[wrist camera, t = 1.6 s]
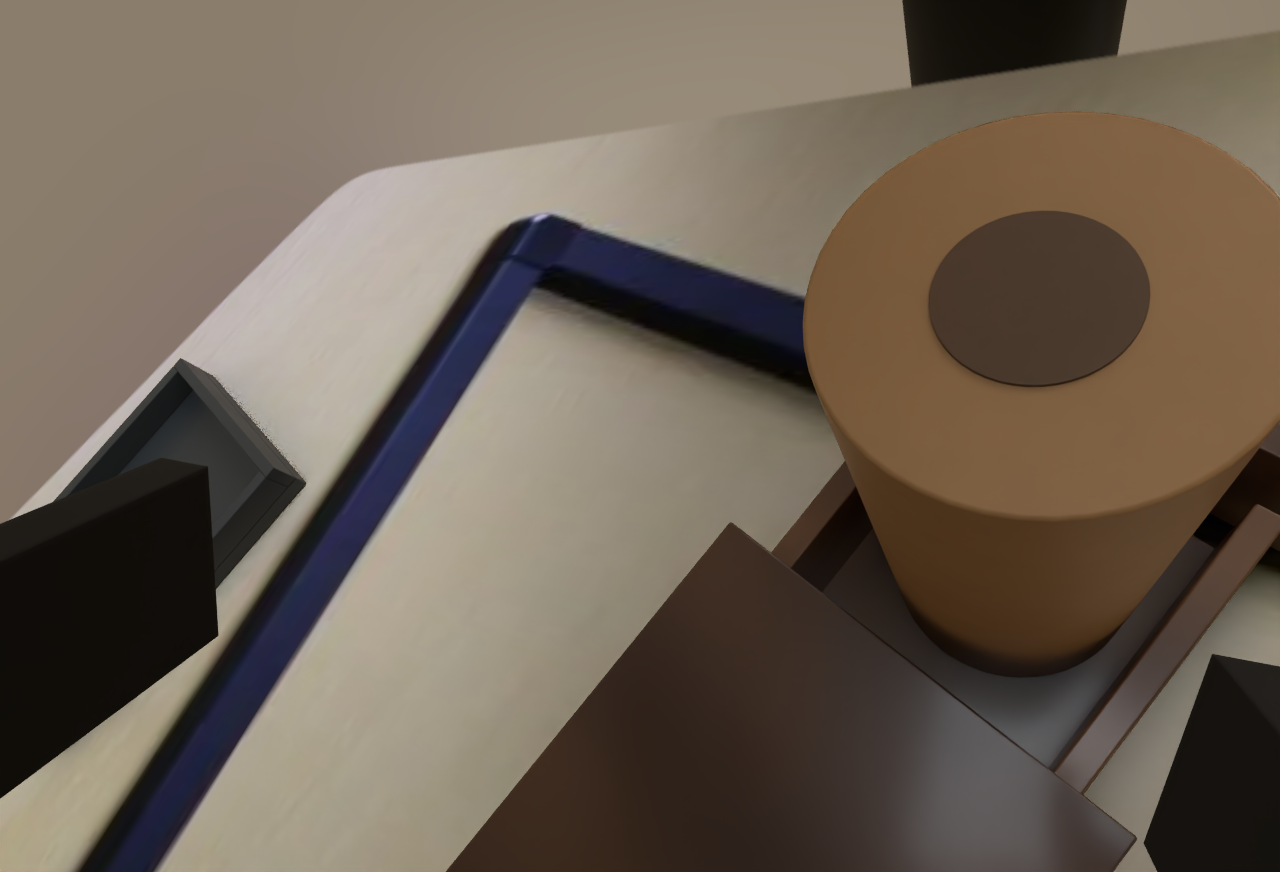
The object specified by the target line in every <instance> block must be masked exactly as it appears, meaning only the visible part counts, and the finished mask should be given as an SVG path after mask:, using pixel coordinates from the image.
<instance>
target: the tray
mask: <svg viewBox="0 0 1280 872" xmlns="http://www.w3.org/2000/svg"><path fill="white" fill-rule="evenodd" d="M159 458H165V459H171V460H176V461H182V462H187V463H192V464H198V465H203V466H208V474H209V490H210V506H211V523H212V539H213V555H214V572H215V588H216V587H217V586H218V585H219V584H220V582H221V581H222V580H223V579H224V578H225V577H226V575H227V574H228V573H229V572H230V571H231V570H232V568H233V567H234V566H235V565H236V564H237V563H238V561H239V560H240V559H241V558H242V557H243V556H244V555H245V553H246V552H247V551H248V550H249V549H250V548H251V546H252V545H253V544H254V543H255V542H256V541H257V539H258V538H259V537H260V536H261V535H262V534H263V532H264V531H265V530H266V529H267V528H268V527H269V526H270V524H271V523H272V522H273V521H274V520H275V519H276V517H277V516H278V515H279V514H280V513H281V512H282V510H283V509H284V508H285V507H286V506H287V505H288V503H289V502H290V501H291V500H292V499H293V498H294V497H295V495H296V494H297V493H298V492H299V491H300V490H301V488H302V487H303V486H304V485H305V484H306V482H305V481H304V480H303V479H302V478H301V476H300V475H299V474H298V473H297V472H296V471H295V470H294V468H293V467H292V466H291V465H290V464H289V463H288V461H287V460H286V459H285V458H284V457H283V456H282V455H281V453H280V452H279V451H278V450H277V449H276V448H275V447H274V445H273V444H272V443H271V442H270V441H269V440H268V439H267V437H266V436H265V435H264V434H263V433H262V432H261V430H260V429H259V428H258V427H257V426H256V425H255V424H254V422H253V421H252V420H251V419H250V418H249V417H248V416H247V414H246V413H245V412H244V411H243V410H242V409H241V407H240V406H239V405H238V404H237V403H236V402H235V401H234V399H233V398H232V397H231V396H230V395H229V394H228V393H227V391H226V390H225V389H224V388H223V387H222V386H221V385H220V383H219V382H218V381H217V380H216V379H215V378H214V376H212V375H210V374H209V373H207V372H205V371H203V370H202V369H200V368H198V367H196V366H194V365H192V364H191V363H189V362H187V361H185V360H183V359H181V358H180V359H179V361H178V362H177V363H176V364H175V365H174V367H172V368H171V370H170V371H169V372H168V373H167V374H166V375H165V376H164V377H163V379H162V380H161V381H160V382H159V383H158V384H157V385H156V386H155V388H154V389H153V390H152V391H151V392H150V393H149V394H148V395H147V397H146V398H145V399H144V400H143V401H142V402H141V403H140V404H139V406H138V407H137V408H136V409H135V410H134V411H133V412H132V414H131V415H130V416H129V417H128V418H127V419H126V420H125V421H124V423H123V424H122V425H121V426H120V427H119V428H118V429H117V430H116V432H115V433H114V434H113V435H112V436H111V437H110V438H109V439H108V441H107V442H106V443H105V444H104V445H103V446H102V447H101V448H100V450H99V451H98V452H97V453H96V454H95V455H94V456H93V457H92V459H91V460H90V461H89V462H88V463H87V464H86V465H85V466H84V468H83V469H82V470H81V471H80V472H79V473H78V474H77V476H76V477H75V478H74V479H73V480H72V481H71V482H70V483H69V485H68V486H67V487H66V488H65V489H64V490H63V491H62V492H61V494H60V495H59V496H58V497H57V498H56V499H55V500H54V501H53V502H55V501H57V500H59V499H62V498H64V497H67V496H69V495H72V494H74V493H76V492H79V491H81V490H84V489H86V488H88V487H91V486H93V485H96V484H98V483H101V482H103V481H105V480H108V479H110V478H113V477H115V476H117V475H120V474H122V473H125V472H127V471H130V470H132V469H134V468H137V467H139V466H142V465H144V464H147V463H149V462H151V461H154V460H156V459H159Z"/></svg>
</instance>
